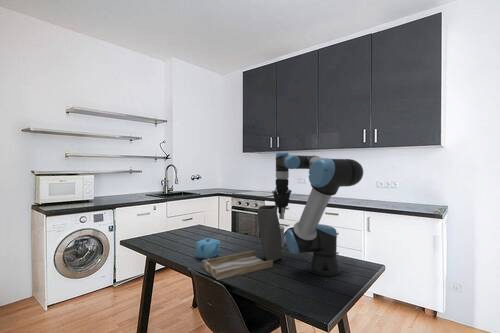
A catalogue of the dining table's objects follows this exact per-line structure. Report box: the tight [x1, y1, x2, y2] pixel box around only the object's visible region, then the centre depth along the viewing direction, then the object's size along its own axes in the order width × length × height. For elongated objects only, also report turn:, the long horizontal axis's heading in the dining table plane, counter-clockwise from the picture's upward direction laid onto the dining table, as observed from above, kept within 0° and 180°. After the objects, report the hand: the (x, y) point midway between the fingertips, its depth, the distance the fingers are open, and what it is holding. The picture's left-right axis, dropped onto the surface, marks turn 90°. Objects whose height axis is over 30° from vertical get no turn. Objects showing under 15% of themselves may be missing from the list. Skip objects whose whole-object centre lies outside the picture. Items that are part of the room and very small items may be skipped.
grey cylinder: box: [280, 225, 285, 248], centre depth 183 cm, size 10×10×12 cm
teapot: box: [195, 237, 222, 260], centre depth 157 cm, size 16×18×11 cm
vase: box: [256, 204, 283, 262], centre depth 154 cm, size 12×12×30 cm
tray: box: [201, 250, 274, 281], centre depth 143 cm, size 19×32×4 cm, turn 122°
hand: (281, 218), depth 159 cm, fingers closed
